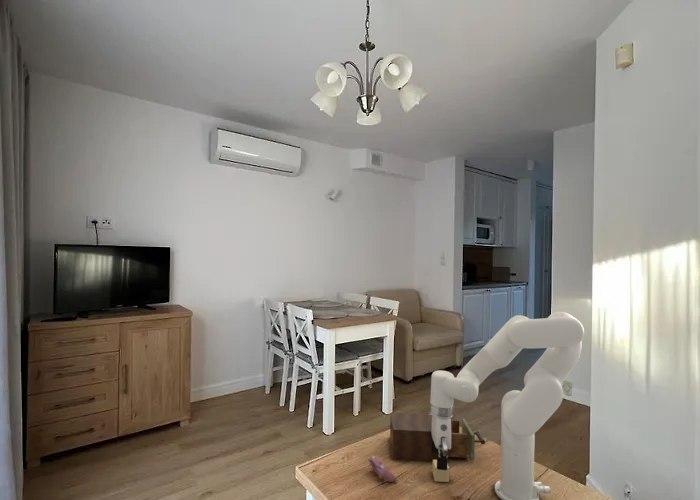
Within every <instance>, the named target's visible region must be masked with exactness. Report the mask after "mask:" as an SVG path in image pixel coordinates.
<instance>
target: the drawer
mask: <svg viewBox="0 0 700 500" xmlns="http://www.w3.org/2000/svg"><path fill="white" fill-rule="evenodd" d="M476 437H477V439H476ZM475 443H480V444H481V445H485V444H486V440H485V439H484V437H483V436H482V434H481V432H480V431H475V432H474V431H473V430H472V428H471V427H470V425H469V423H468V421H467V420H466V419H465V418H461V433H460V420H459V419H451V449H450V450H449V449H448V448H447V453H448V458H465V459H467V458H468V457H469V459H470V460H472V461H474V460H475ZM441 447H442V445H441ZM441 452H442V450H441Z"/></svg>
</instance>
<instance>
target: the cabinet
mask: <svg viewBox="0 0 700 500" xmlns="http://www.w3.org/2000/svg"><path fill="white" fill-rule="evenodd" d="M389 423H390V425H389V426H390V427H389V431H390V432H389V441H390V442H389V443H390V451H391V457H392V460H402V461H403V460H404V461H419V462H433V460H437V456H438V453H432V452H431V449H432V441H433V440H432V415H431V414H430V413H429V414H426V413H405V412H390V422H389Z"/></svg>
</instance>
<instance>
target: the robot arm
mask: <svg viewBox="0 0 700 500" xmlns="http://www.w3.org/2000/svg"><path fill="white" fill-rule="evenodd" d="M584 337H585V327H584V326H583V324H582V323H581V321H580V320H579V319H577V318H576V317H574V316H573V315H572V314H570V313H568V312H566V311H555V312H552V313H551V314H549V316H548V317H545V318H544V317H543V318H529V317H527V316H525V315H523V314H522V315H521V314H518V315H514V316H512V317H510V319H508V321H506V322H505V324H504V325H503V326H502V327H501V328H500V329H499V330H498V331H497V332H496V333H495V334H494V335H493V337H492V338H491V339H490V340H489V341H488V342H487V343H486V344H485V345H484V346H483V347H482V348H481V349H480V350H479V351H478V352H477V353H476V354H475V355H473V357H472V358H471V359H469V361H468V362H467V363H466V364H465V365H464V366H463V367H462V369H461V370H460V371H459V372H458V374H457V375H456V377H455V375H454V374H453V373H452V372H450V371H447V370H443V369H442V370H435V371H433V372H432V374H431V379H430V399H429V414H430V415H432V440H433V441H432V449H431V452H432V453H438V456H437V469H438V470H447V463H448V460H449V459H448V458H449V457H448V453H447V448H448V449H449V450H450V449H451V420H452V419H451V418H453V417H454V400H457V401H459V402H463V403H473V402H475V401H476V399H477V398H478V396H479V391H480V390H479V389H480V388H479V387H480V385H482V383H483V382H484V381H485V380H486V379H487V378H488V377H489V376H490V375H491V374H492V373H493V372H495V371H497V370H500V369H503V368H506V367H507V366H508V365H510V363H511V362H512V361H513V360H514V359H515V358H516V357H517V355H519V354H520V352H521V351H522V350H524V349H545V351H544V352H543V354H541V356H540V357H539V358H538V359H537V360H536V362H534V364H533V365H532V366H531V368H529V369H528V370H527V372H526V373H525V374H524V377H523V385H524V387H523V388H522V390H517V389H513V390H510V391H507V392H506V393H505V394H504V395H503V397H502V399H501V402H500V469H499V471H500V473H499V480H497V481H496V482H495V484H494V492H495V494H496V495H497V497H498V498H499V499H500V500H540V494H551V492H552V491H551V487H550V486H549V485H543V483H542V481H535V448H536V447H535V445H536V444H535V442H536V440H535V439H536V438H535V437H536V436H535V433H537V432H538V431H539V430H540V429H541V428H542V427H543V425H545V423H546V422H547V421H548V420H549V419H550V418H551V417H552V416H553V414H554V413H555V412H556V411H557V410H558V409H559V407H560V406H561V404H562V402H563V400H564V389H563V385H562V384H563V383H564V381H565V380H567V378H568V376H569V375H570V373H572V371H573V370H574V369H575V367H576V366H577V364H578V362H579V360H580V358H581V355H582V349H583V342H582V341H583V340H584ZM441 445H442V447H441ZM441 450H442V452H441Z"/></svg>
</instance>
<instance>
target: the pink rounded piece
mask: <svg viewBox="0 0 700 500" xmlns="http://www.w3.org/2000/svg"><path fill="white" fill-rule="evenodd" d="M367 461H368V464H367V465H368V466H369V467H370V468H372V469H373V472H374V473H375V474H376V475H378V478H379V479H380V480H385V481H386V482H389V483H393V482H395V480H396V477H395V475H394V474H393V473H392V472H391V471H389V469H387V467H386V466H385V464H384V463H383V460H382V459H380V458H379V457H377V456H375V455H373V456H369V458H367Z"/></svg>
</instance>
